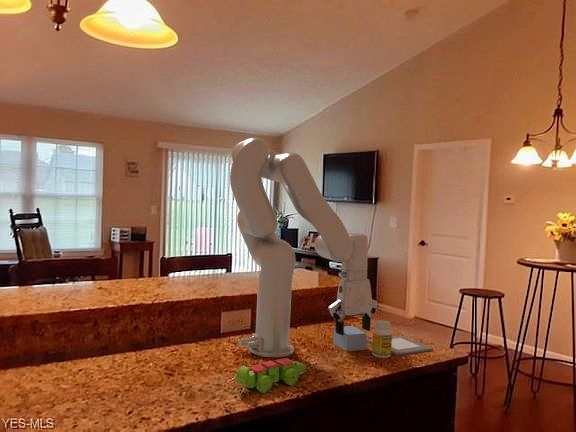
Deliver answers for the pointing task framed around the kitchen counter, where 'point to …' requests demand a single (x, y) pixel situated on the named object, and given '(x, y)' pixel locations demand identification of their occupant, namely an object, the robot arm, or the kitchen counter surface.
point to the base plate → (405, 346)
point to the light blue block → (350, 339)
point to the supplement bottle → (382, 339)
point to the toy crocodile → (270, 374)
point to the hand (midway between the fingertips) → (353, 331)
